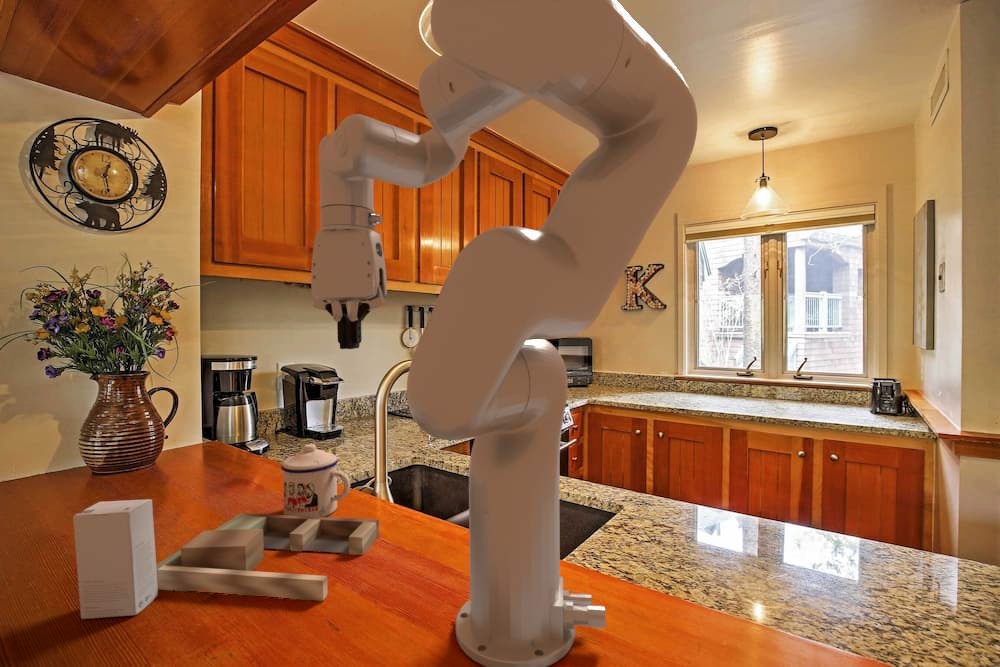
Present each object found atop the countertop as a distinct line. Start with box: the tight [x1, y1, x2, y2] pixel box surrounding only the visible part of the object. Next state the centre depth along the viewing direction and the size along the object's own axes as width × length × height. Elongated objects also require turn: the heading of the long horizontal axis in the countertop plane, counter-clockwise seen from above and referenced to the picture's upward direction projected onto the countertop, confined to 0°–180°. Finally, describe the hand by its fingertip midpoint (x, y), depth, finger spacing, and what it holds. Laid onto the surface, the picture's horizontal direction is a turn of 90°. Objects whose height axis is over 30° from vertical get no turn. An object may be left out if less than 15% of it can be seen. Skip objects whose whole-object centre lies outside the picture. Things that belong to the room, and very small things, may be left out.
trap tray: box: [156, 512, 380, 602], centre depth 65 cm, size 23×17×2 cm
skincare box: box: [72, 498, 159, 620], centre depth 54 cm, size 6×4×12 cm
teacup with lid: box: [281, 443, 351, 517], centre depth 81 cm, size 12×9×12 cm
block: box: [180, 529, 265, 571], centre depth 62 cm, size 8×5×4 cm, turn 93°
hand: (349, 348), depth 69 cm, fingers closed
